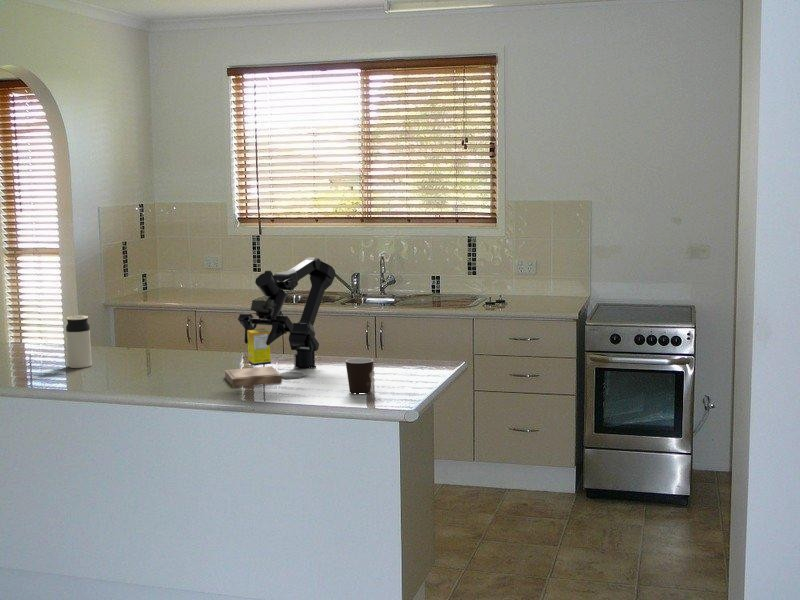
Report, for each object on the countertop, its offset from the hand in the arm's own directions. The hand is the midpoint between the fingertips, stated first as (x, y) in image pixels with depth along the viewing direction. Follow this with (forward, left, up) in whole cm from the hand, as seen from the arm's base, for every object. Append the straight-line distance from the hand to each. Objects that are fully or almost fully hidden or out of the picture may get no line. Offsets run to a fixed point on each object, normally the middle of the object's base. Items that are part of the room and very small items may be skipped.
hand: (256, 343), depth 309 cm
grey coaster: (-13, -7, -13) cm, 20 cm away
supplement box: (-1, -1, -7) cm, 7 cm away
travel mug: (+54, -54, -13) cm, 78 cm away
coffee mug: (-29, +24, -13) cm, 39 cm away
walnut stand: (0, -6, -13) cm, 15 cm away
